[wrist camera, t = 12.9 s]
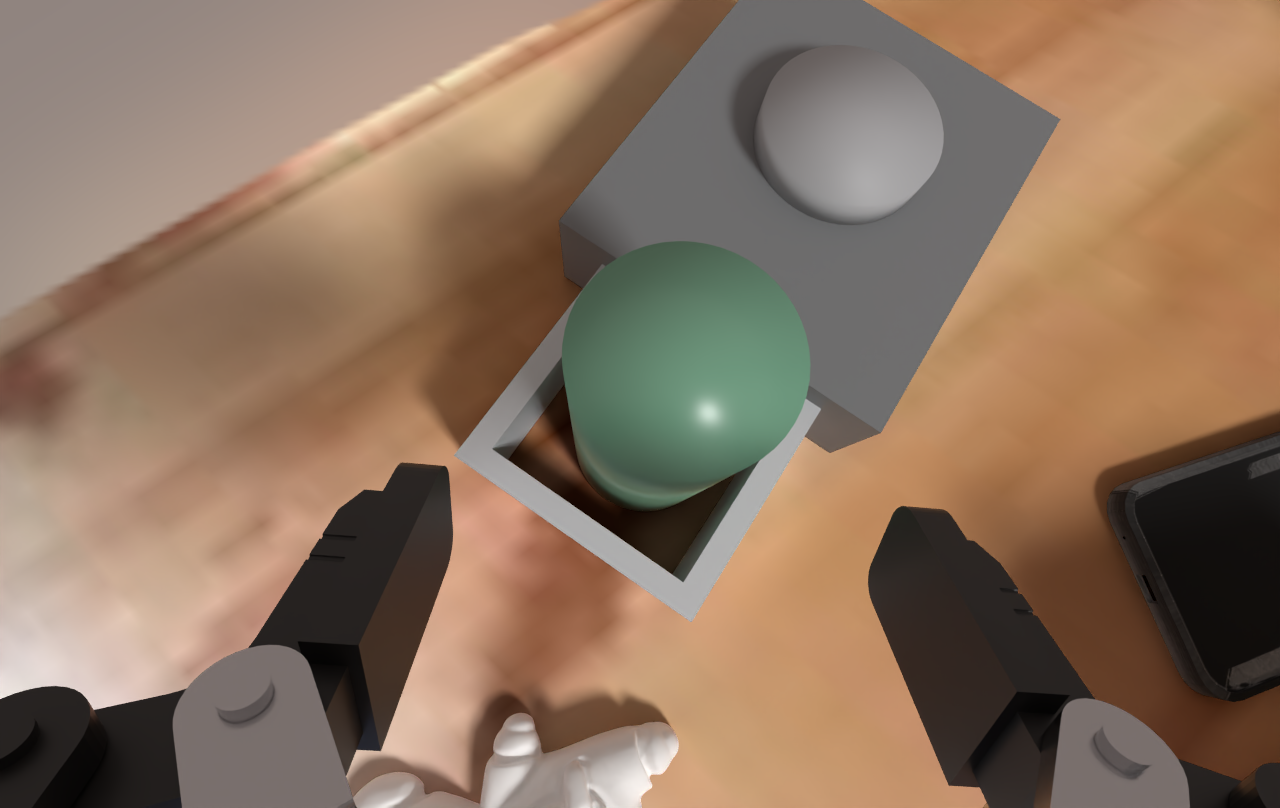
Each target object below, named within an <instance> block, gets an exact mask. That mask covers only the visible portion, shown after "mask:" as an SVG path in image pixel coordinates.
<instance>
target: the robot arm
mask: <svg viewBox="0 0 1280 808" xmlns="http://www.w3.org/2000/svg"><path fill="white" fill-rule="evenodd" d="M452 542H453V525H452V511H451V497H450V483H449V473H448V469H447V467H446V466H438V465H426V464H414V463H400V464H399V465H398V466H397V468H396V469H395V471H394V473H393V474H392V476H391V478H390V480H389V481H388V483H387V485H386V487H385V488H384V490H383V491H374V490H363V491H362V492H361V493H359V494H358V495H357V496H355V497H354V498H353V499H352V500H350V501H349V502H348V503H346V504H345V505H344V506H342V507H341V508H340V509H338V511H337V512H336V514H335V516H334V517H333V519H332V520H331V522H330V523H329V525H328V526H327V528H326V529H325V531H324V533H323V537H322V539H319V540H318V542H317V543H316V545H315V547H314V548H313V550H312V551H311V553H310V557H309V559H308V560H306V561H305V562H304V564H303V565H302V567H301V568H300V570H299V571H298V573H297V575H296V576H295V578H294V579H293V581H292V582H291V584H290V585H289V587H288V589H287V590H286V592H285V593H284V595H283V596H282V598H281V599H280V601H279V603H278V604H277V606H276V607H275V609H274V610H273V612H272V613H271V615H270V617H269V618H268V620H267V621H266V623H265V624H264V626H263V627H262V629H261V630H260V632H259V634H258V635H257V637H256V638H255V640H254V641H253V642H252V644H251V645H250V646H249V648H247V649H244V650H241V651H238V652H235V653H233V654H231V655H229V656H227V657H225V658H223V659H221V660H220V661H218V662H216V663H215V664H213V665H212V666H210V667H209V668H208V669H206V670H205V671H204V672H202V673H201V674H200V675H199V676H198V677H197V678H196V679H195V680H194V681H193V682H192V683H191V684H190V686H189V687H188V688H187V689H184V690H181V691H178V692H174V693H170V694H166V695H162V696H157V697H152V698H148V699H143V700H139V701H134V702H129V703H125V704H120V705H115V706H111V707H106V708H101V709H97V710H93V708H92V707H91V705H90V703H89V702H88V700H87V699H86V698H85V697H84V696H83V694H81V693H80V692H78V691H76V690H74V689H71V688H67V687H59V686H50V687H40V688H34V689H29V690H26V691H22V692H19V693H15V694H13V695H10V696H7V697H5V698H2V699H0V808H357V807H356V805H355V802H354V800H353V797H352V794H351V791H350V788H349V784H348V781H347V778H346V775H347V772H348V770H349V767H350V765H351V762H352V760H353V757H354V755H355V752H356V750H373V751H381V749H382V746H383V744H384V741H385V738H386V735H387V733H388V730H389V727H390V724H391V722H392V719H393V716H394V713H395V711H396V708H397V705H398V702H399V700H400V697H401V694H402V691H403V689H404V686H405V683H406V680H407V678H408V675H409V672H410V669H411V667H412V664H413V661H414V658H415V656H416V653H417V650H418V647H419V645H420V642H421V639H422V636H423V634H424V631H425V628H426V625H427V623H428V620H429V617H430V614H431V612H432V609H433V606H434V603H435V601H436V598H437V595H438V592H439V590H440V587H441V584H442V581H443V579H444V576H445V573H446V570H447V567H448V564H449V560H450V556H451V550H452ZM868 587H869V594H870V598H871V601H872V603H873V606H874V608H875V611H876V613H877V615H878V618H879V620H880V623H881V625H882V627H883V630H884V632H885V634H886V637H887V639H888V642H889V644H890V646H891V649H892V651H893V654H894V656H895V658H896V661H897V663H898V665H899V668H900V670H901V673H902V675H903V677H904V680H905V682H906V685H907V687H908V689H909V692H910V694H911V696H912V699H913V701H914V704H915V706H916V708H917V711H918V713H919V715H920V718H921V720H922V723H923V725H924V727H925V730H926V732H927V735H928V737H929V739H930V742H931V744H932V746H933V749H934V751H935V754H936V756H937V758H938V761H939V763H940V766H941V768H942V770H943V773H944V775H945V777H946V780H947V782H948V785H949V786H966V787H980V789H981V791H982V793H983V795H984V797H985V799H986V802H987V803H986V804H985V805H984V807H983V808H1280V763H1268V764H1264V765H1262V766H1260V767H1259V768H1258V769H1256V770H1255V771H1254V772H1253V773H1251V774H1250V775H1249V776H1248V777H1247V778H1245V779H1244V780H1243V781H1239V780H1236V779H1233V778H1231V777H1228V776H1225V775H1222V774H1219V773H1216V772H1214V771H1211V770H1208V769H1205V768H1202V767H1199V766H1197V765H1194V764H1191V763H1188V762H1185V761H1182V760H1180V759H1177V757H1176V756H1175V755H1174V753H1173V752H1172V750H1171V749H1170V748H1169V747H1168V746H1167V745H1166V743H1165V742H1164V741H1163V740H1162V739H1161V738H1160V737H1159V736H1158V735H1157V734H1156V733H1155V732H1154V731H1152V730H1151V729H1150V728H1149V727H1148V726H1146V725H1145V724H1144V723H1143V722H1141V721H1140V720H1138V719H1137V718H1135V717H1134V716H1132V715H1131V714H1129V713H1127V712H1126V711H1124V710H1122V709H1120V708H1118V707H1116V706H1114V705H1111V704H1109V703H1106V702H1103V701H1099V700H1095V698H1094V697H1093V696H1092V694H1091V693H1090V691H1089V690H1088V689H1087V687H1086V686H1085V684H1084V683H1083V681H1082V680H1081V679H1080V677H1079V676H1078V674H1077V673H1076V671H1075V670H1074V668H1073V667H1072V666H1071V664H1070V663H1069V661H1068V660H1067V658H1066V657H1065V656H1064V654H1063V653H1062V651H1061V650H1060V648H1059V647H1058V646H1057V644H1056V643H1055V641H1054V640H1053V638H1052V637H1051V636H1050V634H1049V633H1048V631H1047V630H1046V628H1045V627H1044V625H1043V624H1042V623H1041V621H1040V620H1039V618H1038V617H1037V616H1033V613H1032V611H1033V610H1032V608H1031V607H1030V605H1029V604H1028V603H1027V601H1026V600H1025V598H1024V597H1023V595H1022V594H1018V588H1017V587H1016V585H1015V584H1014V583H1013V581H1012V580H1011V578H1010V577H1009V575H1008V574H1007V572H1006V571H1005V570H1004V568H1003V567H1002V565H1001V564H1000V563H999V562H998V561H997V560H996V559H994V558H993V557H992V556H991V555H990V554H989V553H987V552H986V551H985V550H984V549H983V548H982V547H980V546H979V545H978V544H977V543H976V542H975V541H969V540H967V539H966V537H965V536H964V534H963V533H962V531H961V530H960V528H959V527H958V525H957V524H956V522H955V521H954V519H953V518H952V516H951V515H950V514H949V513H948V512H947V511H945V510H942V509H931V508H919V507H907V506H901V507H899V508H897V509H896V510H895V512H894V513H893V515H892V517H891V520H890V522H889V524H888V527H887V529H886V531H885V533H884V536H883V538H882V540H881V543H880V545H879V547H878V550H877V552H876V554H875V556H874V559H873V561H872V563H871V566H870V570H869V576H868Z"/></svg>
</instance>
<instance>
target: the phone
mask: <svg viewBox="0 0 1280 808" xmlns="http://www.w3.org/2000/svg"><path fill="white" fill-rule="evenodd" d="M1107 514H1108V517H1109V520H1110V523H1111V525H1112V527H1113V530H1114V532H1115V534H1116V536H1117V538H1118V541H1119V543H1120V545H1121V547H1122V549H1123V552H1124V554H1125V556H1126V558H1127V560H1128V563H1129V565H1130V567H1131V569H1132V571H1133V573H1134V576H1135V578H1136V580H1137V582H1138V584H1139V587H1140V589H1141V591H1142V593H1143V595H1144V598H1145V600H1146V602H1147V604H1148V606H1149V609H1150V611H1151V613H1152V615H1153V617H1154V619H1155V622H1156V624H1157V626H1158V628H1159V630H1160V633H1161V635H1162V637H1163V639H1164V641H1165V644H1166V646H1167V648H1168V650H1169V652H1170V655H1171V657H1172V659H1173V661H1174V663H1175V665H1176V668H1177V670H1178V672H1179V674H1180V675H1181V677H1182V678H1183V680H1184V682H1185V683H1186V684H1187V685H1188V686H1189V687H1190V688H1192V689H1193V690H1194V691H1196V692H1198V693H1200V694H1202V695H1205V696H1209V697H1214V698H1218V699H1222V700H1227V701H1232V702H1236V701H1241V700H1245V699H1247V698H1250V697H1252V696H1254V695H1257V694H1259V693H1262V692H1264V691H1267V690H1269V689H1272V688H1274V687H1276V686H1279V685H1280V431H1279V432H1276V433H1273V434H1270V435H1267V436H1264V437H1261V438H1258V439H1255V440H1252V441H1249V442H1246V443H1243V444H1240V445H1237V446H1234V447H1231V448H1228V449H1225V450H1222V451H1219V452H1216V453H1213V454H1210V455H1207V456H1204V457H1201V458H1198V459H1195V460H1192V461H1189V462H1186V463H1183V464H1180V465H1177V466H1174V467H1171V468H1168V469H1165V470H1162V471H1159V472H1156V473H1153V474H1150V475H1147V476H1144V477H1141V478H1138V479H1135V480H1132V481H1129V482H1126V483H1123V484H1121V485H1119V486H1117V487H1116V488H1114V490H1113V491H1112V492H1111V494H1110V495H1109V498H1108V502H1107ZM1122 536H1125V538H1126V539H1123V537H1122ZM1142 575H1145V576H1146V578H1147V580H1148V582H1149V584H1150V587H1151V589H1152V591H1153V593H1154V595H1155V597H1156V600H1157V601H1153V600H1152V597H1151V595H1150V593H1149V591H1148V589H1147V586H1146V584H1145V582H1144V580H1143V578H1142Z"/></svg>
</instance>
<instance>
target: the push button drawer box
mask: <svg viewBox="0 0 1280 808" xmlns="http://www.w3.org/2000/svg"><path fill="white" fill-rule="evenodd" d="M1059 121H1060V119H1059V118H1057V117H1056V116H1054V115H1052V114H1051V113H1049V112H1047V111H1046V110H1044V109H1042V108H1041V107H1039V106H1037V105H1036V104H1034V103H1032V102H1031V101H1029V100H1027V99H1026V98H1024V97H1022V96H1021V95H1019V94H1017V93H1016V92H1014V91H1013V90H1011V89H1009V88H1008V87H1006V86H1004V85H1003V84H1001V83H999V82H998V81H996V80H994V79H993V78H991V77H989V76H988V75H986V74H984V73H983V72H981V71H979V70H978V69H976V68H974V67H973V66H971V65H969V64H968V63H966V62H964V61H963V60H961V59H959V58H958V57H956V56H954V55H953V54H951V53H949V52H948V51H946V50H944V49H943V48H941V47H940V46H938V45H936V44H935V43H933V42H931V41H930V40H928V39H926V38H925V37H923V36H921V35H920V34H918V33H916V32H915V31H913V30H911V29H910V28H908V27H906V26H905V25H903V24H901V23H900V22H898V21H896V20H895V19H893V18H891V17H890V16H888V15H886V14H885V13H883V12H881V11H880V10H878V9H876V8H875V7H873V6H871V5H870V4H868V3H866V2H865V1H863V0H739V1H738V2H737V3H736V5H735V6H734V7H733V8H732V9H731V11H730V12H729V13H728V14H727V16H726V17H725V18H724V19H723V20H722V22H721V23H720V24H719V25H718V27H717V28H716V29H715V30H714V31H713V33H712V34H711V35H710V36H709V38H708V39H707V40H706V41H705V42H704V44H703V45H702V46H701V47H700V49H699V50H698V51H697V52H696V53H695V55H694V56H693V57H692V58H691V60H690V61H689V62H688V63H687V64H686V66H685V67H684V68H683V69H682V71H681V72H680V73H679V74H678V75H677V77H676V78H675V79H674V80H673V82H672V83H671V84H670V85H669V86H668V88H667V89H666V90H665V91H664V93H663V94H662V95H661V96H660V97H659V99H658V100H657V101H656V102H655V104H654V105H653V106H652V107H651V108H650V110H649V111H648V112H647V113H646V115H645V116H644V117H643V118H642V119H641V121H640V122H639V123H638V124H637V126H636V127H635V128H634V129H633V130H632V132H631V133H630V134H629V135H628V137H627V138H626V139H625V140H624V142H623V143H622V144H621V145H620V146H619V148H618V149H617V150H616V151H615V153H614V154H613V155H612V156H611V157H610V159H609V160H608V161H607V162H606V164H605V165H604V166H603V167H602V168H601V170H600V171H599V172H598V173H597V175H596V176H595V177H594V178H593V179H592V181H591V182H590V183H589V184H588V186H587V187H586V188H585V189H584V190H583V192H582V193H581V194H580V195H579V197H578V198H577V199H576V200H575V201H574V203H573V204H572V205H571V206H570V208H569V209H568V210H567V211H566V212H565V214H564V215H563V216H562V217H561V219H560V220H559V227H560V237H561V247H562V256H563V266H564V276H565V277H566V278H568V279H569V280H571V281H572V282H574V283H575V284H577V285H579V286H580V287H582V288H583V289H584V288H585V286H586V285H587V284H588V283H589V282H590V281H591V279H592V278H593V277H594V276H595V275H596V274H597V273H598V272H600V271H601V270H602V269H603V268H604V267H605V266H607V265H608V264H610V263H611V262H613V261H614V260H616V259H617V258H619V257H621V256H623V255H625V254H627V253H629V252H631V251H633V250H636V249H639V248H641V247H644V246H648V245H652V244H657V243H662V242H673V241H689V242H698V243H705V244H710V245H713V246H717V247H721V248H724V249H726V250H729V251H731V252H734V253H736V254H738V255H740V256H742V257H744V258H746V259H747V260H749V261H751V262H752V263H754V264H755V265H757V266H758V267H759V268H761V269H762V270H764V271H765V272H766V273H767V274H768V275H769V276H770V277H771V278H772V279H773V280H775V281H776V283H777V284H778V285H779V286H780V287H781V288H782V290H783V291H784V292H785V293H786V295H787V296H788V298H789V299H790V301H791V302H792V304H793V305H794V307H795V309H796V311H797V313H798V315H799V317H800V319H801V321H802V324H803V327H804V330H805V333H806V336H807V341H808V346H809V352H810V381H809V386H808V391H807V396H806V399H805V402H804V405H803V408H802V410H801V412H800V414H799V416H798V418H797V420H796V422H795V424H794V426H793V427H792V428H791V430H790V431H789V433H788V434H787V436H786V437H785V438H784V439H783V440H782V441H781V442H780V443H779V445H778V446H777V447H776V448H775V449H774V450H772V451H771V452H770V453H769V454H767V455H766V456H765V457H764V458H762V459H761V460H759V461H758V462H756V463H754V464H753V465H751V466H749V467H747V468H746V469H744V470H742V471H740V472H738V473H736V474H735V476H734V478H733V479H732V481H731V482H730V484H729V485H728V487H727V489H726V490H725V492H724V493H723V495H722V497H721V498H720V500H719V501H718V503H717V504H716V506H715V508H714V509H713V511H712V512H711V514H710V516H709V517H708V519H707V520H706V522H705V524H704V525H703V527H702V528H701V530H700V531H699V533H698V535H697V536H696V538H695V539H694V541H693V543H692V544H691V546H690V547H689V549H688V550H687V552H686V554H685V555H684V557H683V558H682V560H681V562H680V563H679V565H678V566H677V568H676V569H675V571H674V573H673V574H670V573H669V572H668V571H666V570H665V569H663V568H662V567H660V566H659V565H658V564H656V563H655V562H653V561H652V560H650V559H649V558H648V557H646V556H645V555H643V554H642V553H640V552H639V551H637V550H636V549H635V548H633V547H632V546H630V545H629V544H627V543H626V542H625V541H623V540H622V539H620V538H619V537H617V536H616V535H615V534H613V533H612V532H610V531H609V530H607V529H606V528H605V527H603V526H602V525H600V524H599V523H597V522H596V521H594V520H593V519H592V518H590V517H589V516H587V515H586V514H584V513H583V512H582V511H580V510H579V509H577V508H576V507H574V506H573V505H572V504H570V503H569V502H567V501H566V500H564V499H563V498H562V497H560V496H559V495H557V494H556V493H554V492H553V491H551V490H550V489H549V488H547V487H546V486H544V485H543V484H541V483H540V482H539V481H537V480H536V479H534V478H533V477H531V476H530V475H529V474H527V473H526V472H524V471H523V470H521V469H520V468H518V467H517V466H516V465H514V464H513V463H511V462H510V461H508V459H509V457H510V456H511V455H512V453H513V452H514V451H515V449H516V448H517V447H518V445H519V444H520V443H521V441H522V440H523V439H524V437H525V436H526V435H527V433H528V432H529V431H530V429H531V428H532V427H533V425H534V424H535V423H536V421H537V420H538V419H539V417H540V416H541V415H542V413H543V412H544V411H545V409H546V408H547V407H548V405H549V404H550V403H551V401H552V400H553V399H554V397H555V396H556V395H557V393H558V392H559V391H560V389H561V388H562V386H563V385H564V384H565V382H564V375H563V367H562V343H563V337H564V331H565V327H566V324H567V321H568V317H569V314H570V312H571V310H572V308H573V306H574V304H575V302H576V300H577V298H578V297H579V295H580V294H581V292H582V291H583V290H582V291H581V292H580V293H579V295H578V296H577V297H576V299H575V300H574V301H573V302H572V304H571V305H570V306H569V308H568V309H567V310H566V312H565V313H564V314H563V315H562V317H561V318H560V319H559V321H558V322H557V323H556V324H555V326H554V327H553V328H552V330H551V331H550V332H549V333H548V335H547V336H546V337H545V339H544V340H543V341H542V342H541V344H540V345H539V346H538V348H537V349H536V350H535V352H534V353H533V354H532V355H531V357H530V358H529V359H528V361H527V362H526V363H525V364H524V366H523V367H522V368H521V370H520V371H519V372H518V373H517V375H516V376H515V377H514V379H513V380H512V381H511V382H510V384H509V385H508V386H507V388H506V389H505V390H504V392H503V393H502V394H501V395H500V397H499V398H498V399H497V401H496V402H495V403H494V404H493V406H492V407H491V408H490V410H489V411H488V412H487V413H486V415H485V416H484V417H483V419H482V420H481V421H480V422H479V424H478V425H477V426H476V428H475V429H474V430H473V432H472V433H471V434H470V435H469V437H468V438H467V439H466V441H465V442H464V443H463V444H462V446H461V447H460V448H459V450H458V451H457V452H456V453H455V455H454V456H455V457H457V458H458V459H460V460H461V461H463V462H464V463H465V464H467V465H468V466H470V467H471V468H472V469H474V470H475V471H477V472H478V473H480V474H481V475H482V476H484V477H485V478H487V479H488V480H490V481H491V482H492V483H494V484H495V485H497V486H498V487H500V488H501V489H502V490H504V491H505V492H507V493H508V494H509V495H511V496H512V497H514V498H515V499H517V500H518V501H519V502H521V503H522V504H524V505H525V506H527V507H528V508H529V509H531V510H532V511H534V512H535V513H537V514H538V515H539V516H541V517H542V518H544V519H545V520H547V521H548V522H549V523H551V524H552V525H554V526H555V527H556V528H558V529H559V530H561V531H562V532H564V533H565V534H566V535H568V536H569V537H571V538H572V539H574V540H575V541H576V542H578V543H579V544H581V545H582V546H584V547H585V548H586V549H588V550H589V551H591V552H592V553H594V554H595V555H596V556H598V557H599V558H601V559H602V560H603V561H605V562H606V563H608V564H609V565H611V566H612V567H613V568H615V569H616V570H618V571H619V572H621V573H622V574H623V575H625V576H626V577H628V578H629V579H631V580H632V581H633V582H635V583H636V584H638V585H639V586H640V587H642V588H643V589H645V590H646V591H648V592H649V593H650V594H652V595H653V596H655V597H656V598H658V599H659V600H660V601H662V602H663V603H665V604H666V605H668V606H669V607H670V608H672V609H673V610H675V611H676V612H678V613H679V614H680V615H682V616H683V617H685V618H686V619H687V620H689V621H690V622H692V620H693V619H694V617H695V615H696V614H697V612H698V611H699V609H700V607H701V606H702V604H703V602H704V601H705V599H706V597H707V596H708V594H709V592H710V591H711V589H712V588H713V586H714V584H715V583H716V581H717V579H718V578H719V576H720V574H721V573H722V571H723V569H724V568H725V566H726V565H727V563H728V561H729V560H730V558H731V556H732V555H733V553H734V551H735V550H736V548H737V547H738V545H739V543H740V542H741V540H742V538H743V537H744V535H745V533H746V532H747V530H748V528H749V527H750V525H751V524H752V522H753V520H754V519H755V517H756V515H757V514H758V512H759V510H760V509H761V507H762V505H763V504H764V502H765V501H766V499H767V497H768V496H769V494H770V492H771V491H772V489H773V487H774V486H775V484H776V482H777V481H778V479H779V478H780V476H781V474H782V473H783V471H784V469H785V468H786V466H787V464H788V463H789V461H790V459H791V458H792V456H793V455H794V453H795V451H796V450H797V448H798V446H799V445H800V443H801V441H802V440H803V438H804V437H807V438H808V439H810V440H811V441H813V442H814V443H816V444H817V445H819V446H820V447H822V448H823V449H825V450H826V451H828V452H829V453H831V452H834V451H836V450H839V449H841V448H844V447H846V446H849V445H851V444H854V443H856V442H859V441H861V440H864V439H866V438H869V437H872V436H874V435H877V434H879V433H881V432H882V430H883V428H884V426H885V425H886V423H887V421H888V419H889V418H890V416H891V414H892V413H893V411H894V409H895V407H896V406H897V404H898V402H899V400H900V399H901V397H902V395H903V393H904V392H905V390H906V388H907V386H908V385H909V383H910V381H911V379H912V378H913V376H914V374H915V372H916V371H917V369H918V367H919V365H920V364H921V362H922V360H923V358H924V357H925V355H926V353H927V351H928V350H929V348H930V346H931V344H932V343H933V341H934V339H935V337H936V336H937V334H938V332H939V330H940V329H941V327H942V325H943V323H944V322H945V320H946V318H947V316H948V315H949V313H950V311H951V309H952V308H953V306H954V304H955V302H956V301H957V299H958V297H959V295H960V294H961V292H962V290H963V288H964V287H965V285H966V283H967V281H968V280H969V278H970V276H971V274H972V273H973V271H974V269H975V268H976V266H977V264H978V262H979V261H980V259H981V257H982V255H983V254H984V252H985V250H986V248H987V247H988V245H989V243H990V241H991V240H992V238H993V236H994V234H995V233H996V231H997V229H998V227H999V226H1000V224H1001V222H1002V220H1003V219H1004V217H1005V215H1006V213H1007V212H1008V210H1009V208H1010V206H1011V205H1012V203H1013V201H1014V199H1015V198H1016V196H1017V194H1018V192H1019V191H1020V189H1021V187H1022V185H1023V184H1024V182H1025V180H1026V178H1027V177H1028V175H1029V173H1030V171H1031V170H1032V168H1033V166H1034V164H1035V163H1036V161H1037V159H1038V157H1039V156H1040V154H1041V152H1042V150H1043V149H1044V147H1045V145H1046V143H1047V142H1048V140H1049V138H1050V136H1051V135H1052V133H1053V131H1054V129H1055V128H1056V126H1057V124H1058V122H1059Z"/></svg>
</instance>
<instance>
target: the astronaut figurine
mask: <svg viewBox="0 0 1280 808" xmlns="http://www.w3.org/2000/svg"><path fill="white" fill-rule="evenodd" d="M678 748H679V743H678V738H677V736H676V734H675V732H674V730H673V729H672V728H671V727H670V726H669V725H668V724H666V723H663V722H648V723H644V724H641V725H635V726H625V727H620V728H616V729H613V730H609V731H606V732H603V733H600V734H597V735H594V736H592V737H589V738H587V739H584V740H582V741H579V742H577V743H574V744H572V745H569V746H566V747H564V748H561V749H559V750H555V751H552V752H548V753H543V752H542V750H541V742H540V739H539V736H538V734H537V732H536V729H535V724H534V721H533V718H532V717H531V716H530V715H528V714H526V713H516V714H513V715H511V716H510V717H508V718H507V719H506V721H505V722H504V724H503V727H502V729H501V730H500V731H499V733H498V734H497V736H496V738H495V740H494V745H493V751H494V754H493V755H492V756H491V758H490V759H489V760H488V762H487V764H486V768H485V774H484V779H483V787H482V793H481V801H480V804H479V803H477V802H474V801H471V800H469V799H466V798H463V797H460V796H457V795H454V794H450V793H447V792H442V791H437V792H432V793H431V794H425V792H424V784H423V782H422V781H421V780H420V779H419V778H418V777H417V776H415V775H413V774H411V773H406V772H392V773H387V774H383V775H381V776H378V777H376V778H374V779H373V780H371V781H370V782H369V783H367V784H366V785H365V786H364V787H363V788H361V789H360V790H359V791H358V792H357V794H356V795H355V796H354V797H353V800H354V802H355V805H356V807H357V808H642V805H641V796H642V795H643V794H644V793H645V792H646V791H647V790H649V789H651V788H652V783H651V781H650V778H649V777H650V775H652V774H656V775H659V774H662V773H663V772H664V771H665V770H666V769H667V768H668V766H669V764H670V762H671V760H672V759H673V758H674V756H675V755H676V754H677V751H678Z"/></svg>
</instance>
